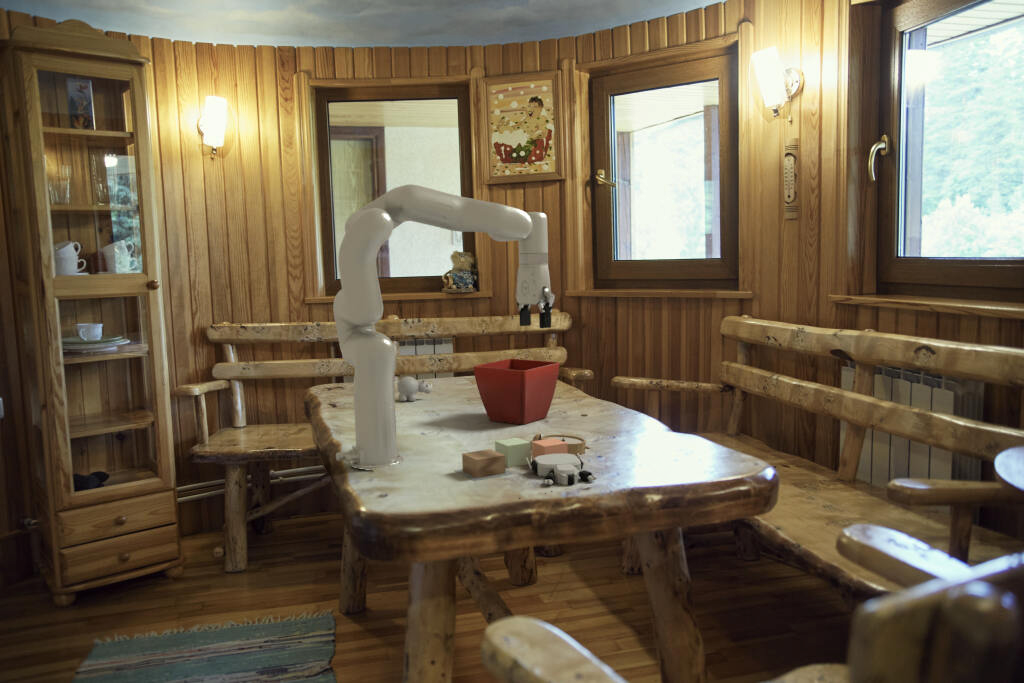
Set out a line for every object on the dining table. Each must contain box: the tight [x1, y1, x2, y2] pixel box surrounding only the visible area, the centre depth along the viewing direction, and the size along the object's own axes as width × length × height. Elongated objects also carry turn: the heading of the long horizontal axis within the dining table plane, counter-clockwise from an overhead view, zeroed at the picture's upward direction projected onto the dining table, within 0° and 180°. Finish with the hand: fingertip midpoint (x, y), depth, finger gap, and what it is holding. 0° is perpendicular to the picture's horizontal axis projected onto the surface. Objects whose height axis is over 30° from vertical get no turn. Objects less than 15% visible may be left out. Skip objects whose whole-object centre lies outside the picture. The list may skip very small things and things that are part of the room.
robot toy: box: [526, 453, 597, 486], centre depth 170 cm, size 12×4×15 cm
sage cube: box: [494, 437, 532, 468], centre depth 182 cm, size 6×6×6 cm
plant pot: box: [472, 358, 560, 426], centre depth 236 cm, size 19×19×17 cm
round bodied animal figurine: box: [396, 376, 433, 402], centre depth 273 cm, size 7×12×8 cm, turn 101°
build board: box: [453, 468, 515, 482], centre depth 174 cm, size 10×10×1 cm
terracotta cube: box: [531, 438, 568, 462], centre depth 180 cm, size 6×6×6 cm
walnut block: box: [461, 448, 506, 478], centre depth 174 cm, size 7×7×4 cm
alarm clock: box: [529, 433, 591, 457], centre depth 194 cm, size 11×5×15 cm
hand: (535, 326), depth 205 cm, fingers open, 9 cm apart
